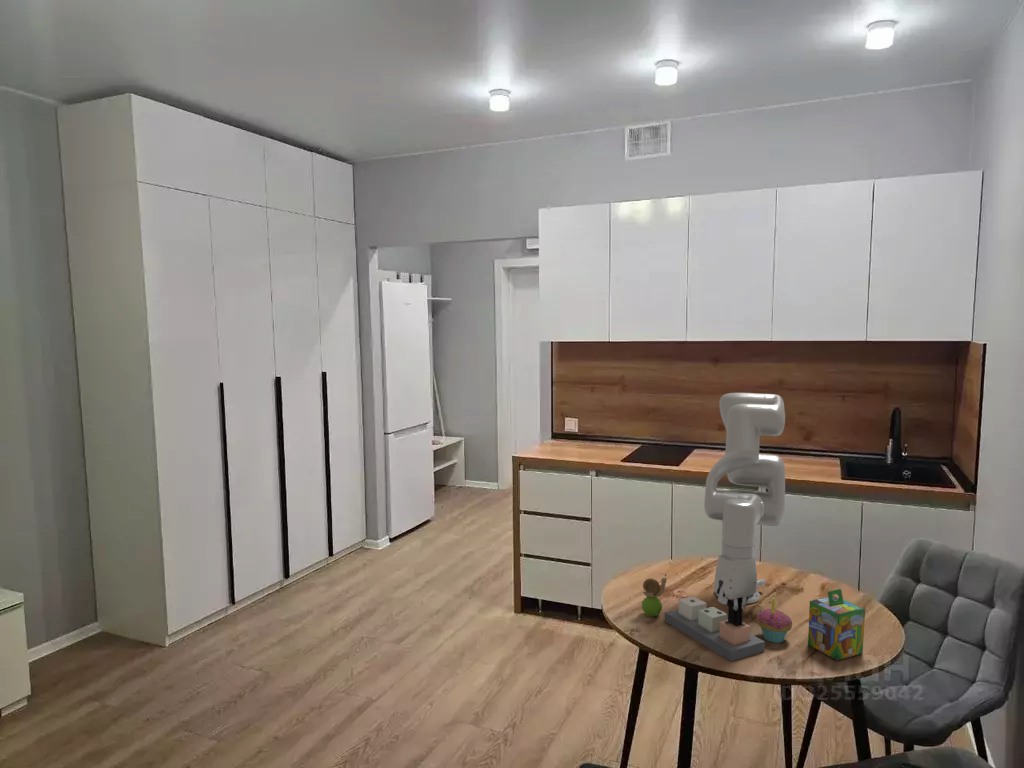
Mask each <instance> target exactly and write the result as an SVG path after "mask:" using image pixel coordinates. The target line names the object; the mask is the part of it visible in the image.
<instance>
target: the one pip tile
mask: <svg viewBox="0 0 1024 768" xmlns="http://www.w3.org/2000/svg"><path fill="white" fill-rule="evenodd" d="M706 608H707V602H705V601H703V600H701V599H699V598H697V597H695V596H688V597H684V598H681V599H680V598H679V599H678V609H679V613H678V614H680V615H682V616H684V617H685V618H687V619H689V620H690V621H693V620H697V619H698V613H699V610H702V609H706Z"/></svg>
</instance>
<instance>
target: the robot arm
mask: <svg viewBox="0 0 1024 768" xmlns="http://www.w3.org/2000/svg"><path fill="white" fill-rule="evenodd" d="M718 406H719V412H720V416H721V420H722V422H723V425H724V428H725V430H726V437H725V439H726V440H725V454H724V455H723V456H722V457H721V458H720V459H719V460H718V461H716V463H715V464H713V466H712V468H710V470H709V472H708V475H707V476H706V480H705V488H704V489H705V490H704V491H705V492H704V501H703V502H704V505H703V507H704V512H705V515H706V516H707V517H708V518H709V519H711V520H715V521H721V531H722V532H721V554H720V555H718V558H717V563H716V568H715V574H714V582H713V583H714V585H713V592H714V594H715V596H717V597H718V598H717V602H718V603H720V604H721V605H725V606H726V607H727V609H728V610H727V620H728V622H730V623H732V624H734V625H735V626H739V625H742V622H743V613H744V609H745V608H746V605H747V604H754V603H756V602H758V601H759V600H760V599H761V598H760V595H761V594H760V592H759V591H758V588H759V587H763V586H765V585H766V583H767V582H766V580H765V579H763V578H761V579H758V576H757V575H758V571H757V570H758V569H757V562H756V558H757V557H756V556H757V555H756V554H757V538H756V526H758V525H759V526H768V527H778V526H780V525H781V524H783V521H784V518H785V507H786V506H785V502H786V501H785V499H786V467H785V462H784V460H783V459H782V457H781V456H779V455H776V454H768V453H760V436H766V437H767V436H769V437H778V436H781V435H782V434H783V432H784V429H785V425H786V412H785V411H786V410H785V403H784V399H783V398H782V396H781V395H779V394H776V393H775V394H774V393H773V394H772V393H755V392H754V393H753V392H729V393H725V394H723V395H722V396H721V397H720V398H719V405H718ZM726 475H727V476H726ZM725 476H726V477H727V480H728V481H729V482H730V483H732V484H734V485H737V486H738V485H739V486H748V487H758V488H759V487H761V488H765V489H767V490H768V491H758V490H750V489H749V490H748V489H728V490H718V489H717V487H718V484H719V481H720V480H721V479H722V478H723V477H725Z"/></svg>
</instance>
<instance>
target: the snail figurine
mask: <svg viewBox="0 0 1024 768" xmlns="http://www.w3.org/2000/svg"><path fill="white" fill-rule="evenodd" d="M660 581H661V584H660V583H659V582H658V580H657V579H655V578H647V579H645V580H644V581H643V583H642V588H643V590H644V591H642V594H643V595H644V596H645V597H644V598H643V599H642V602H641V608H642V611H643V613H644V614H645V615H647V616H649V617H657V616H658V615H660V614H661V612H662V608H663V604H662V601H661V599H660V598H659V596H661V595H662V594H663V593H664V591H665V587H666V583H667V573H664V577H662V578H661V579H660Z"/></svg>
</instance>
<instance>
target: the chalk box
mask: <svg viewBox="0 0 1024 768" xmlns="http://www.w3.org/2000/svg"><path fill="white" fill-rule="evenodd" d="M835 595H837V596H838V597H837V596H835ZM865 617H866V609H865V608H863V607H860V606H858V605H856V604H854V603H853V602H851V601H848V600H845V599H844V598H843V592H842V589H841V588H836V589H833V590H832V589H831V590H829V591H827V597H826V596H825V597H821V598H817V599H812V600H810V601H809V614H808V639H807V646H809V647H812V648H813V649H815V650H817V651H818V652H820V653H822V654H824V655H826V656H828V657H829V658H831V659H834V660H835V661H837V660H838V661H841V660H844V658H845V659H848V657H849V658H853V657H856V656H855V655H857V656H860V655H859V654H861V655H863V653H864V652H863V651H864V634H865ZM852 656H853V657H852Z"/></svg>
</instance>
